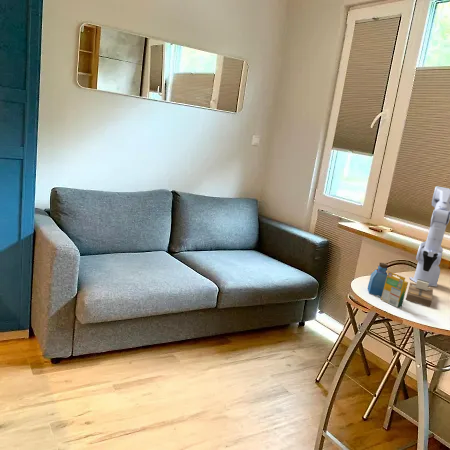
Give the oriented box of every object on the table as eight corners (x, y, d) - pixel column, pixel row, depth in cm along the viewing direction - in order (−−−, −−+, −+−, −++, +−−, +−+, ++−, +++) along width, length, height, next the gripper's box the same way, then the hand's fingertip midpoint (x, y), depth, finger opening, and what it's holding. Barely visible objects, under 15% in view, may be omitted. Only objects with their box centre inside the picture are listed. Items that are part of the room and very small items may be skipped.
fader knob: (415, 285, 188) (417, 277, 188) (427, 288, 187) (429, 281, 186) (415, 287, 186) (417, 279, 185) (426, 290, 184) (429, 282, 183)
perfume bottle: (385, 297, 176) (393, 267, 174) (369, 293, 177) (376, 264, 175) (383, 292, 182) (390, 263, 180) (367, 288, 183) (374, 260, 181)
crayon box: (401, 307, 168) (410, 277, 166) (397, 308, 167) (405, 278, 164) (385, 299, 174) (392, 270, 172) (380, 299, 172) (388, 270, 170)
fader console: (408, 287, 193) (410, 282, 193) (431, 294, 190) (433, 288, 189) (405, 299, 177) (407, 293, 177) (430, 307, 174) (432, 300, 173)
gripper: (445, 244, 179) (436, 276, 182) (445, 238, 191) (436, 268, 195) (426, 239, 181) (417, 271, 184) (427, 233, 194) (419, 264, 197)
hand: (425, 269), depth 190 cm, fingers open, 3 cm apart
